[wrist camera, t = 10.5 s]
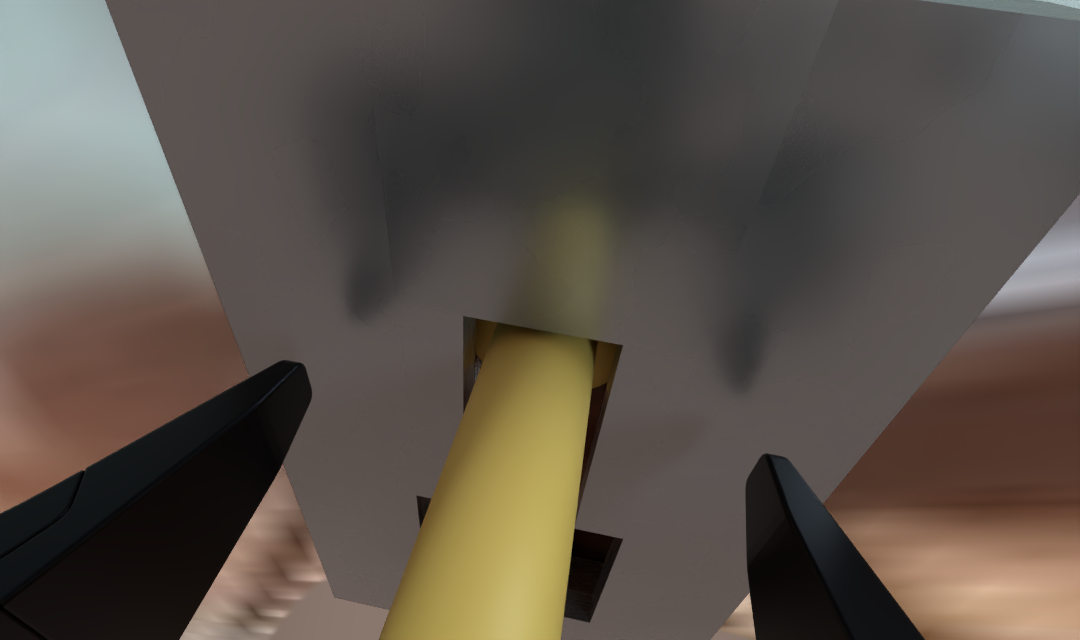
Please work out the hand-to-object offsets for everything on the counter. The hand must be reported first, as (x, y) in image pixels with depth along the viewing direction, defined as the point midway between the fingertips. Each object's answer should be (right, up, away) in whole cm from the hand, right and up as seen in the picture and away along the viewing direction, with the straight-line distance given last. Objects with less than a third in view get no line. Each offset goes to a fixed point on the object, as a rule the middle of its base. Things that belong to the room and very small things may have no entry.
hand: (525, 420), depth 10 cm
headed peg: (+1, +2, +3) cm, 4 cm away
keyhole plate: (0, 0, +6) cm, 6 cm away
